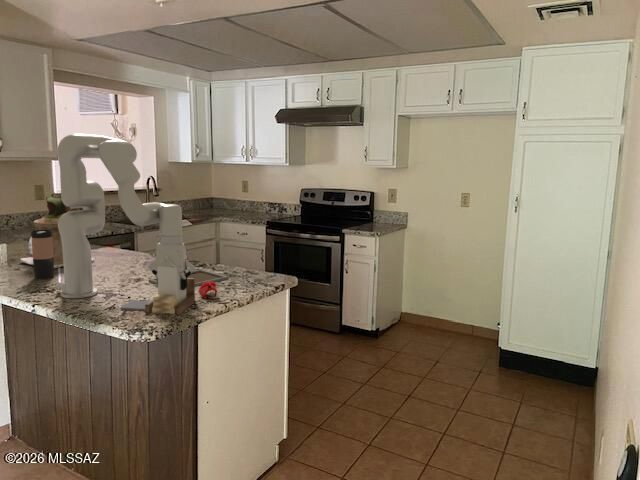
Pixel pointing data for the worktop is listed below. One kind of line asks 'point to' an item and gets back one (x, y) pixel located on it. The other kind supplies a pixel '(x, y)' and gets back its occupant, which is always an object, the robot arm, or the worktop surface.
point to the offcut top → (164, 298)
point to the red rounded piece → (207, 288)
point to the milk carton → (170, 281)
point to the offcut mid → (165, 305)
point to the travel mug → (42, 254)
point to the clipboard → (200, 277)
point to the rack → (185, 303)
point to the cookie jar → (52, 229)
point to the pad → (135, 305)
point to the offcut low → (163, 310)
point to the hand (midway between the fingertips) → (172, 288)
